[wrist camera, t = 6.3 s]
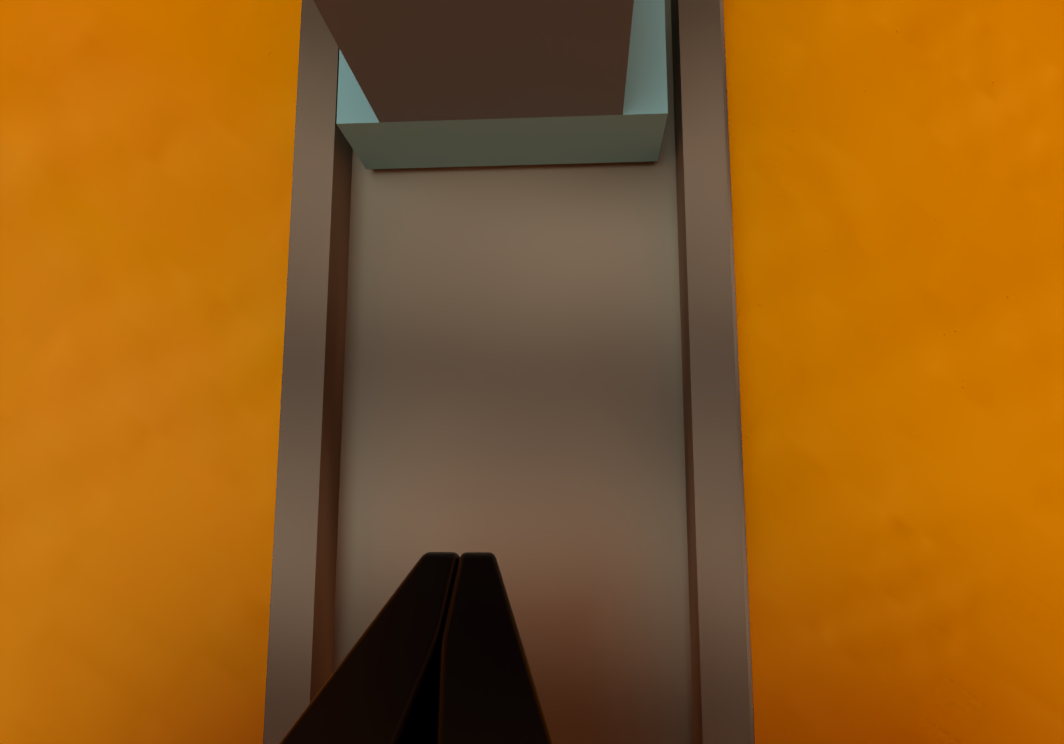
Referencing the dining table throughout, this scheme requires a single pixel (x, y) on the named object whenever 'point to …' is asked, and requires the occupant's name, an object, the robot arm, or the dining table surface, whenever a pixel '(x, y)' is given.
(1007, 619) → the dining table surface
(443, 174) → the rail
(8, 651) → the dining table surface
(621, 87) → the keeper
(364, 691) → the robot arm
